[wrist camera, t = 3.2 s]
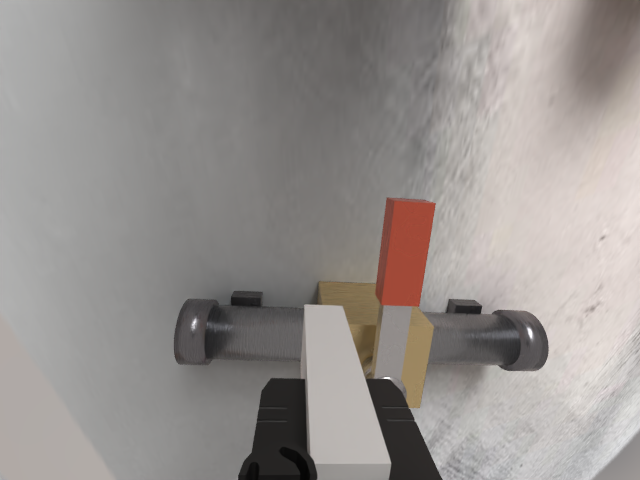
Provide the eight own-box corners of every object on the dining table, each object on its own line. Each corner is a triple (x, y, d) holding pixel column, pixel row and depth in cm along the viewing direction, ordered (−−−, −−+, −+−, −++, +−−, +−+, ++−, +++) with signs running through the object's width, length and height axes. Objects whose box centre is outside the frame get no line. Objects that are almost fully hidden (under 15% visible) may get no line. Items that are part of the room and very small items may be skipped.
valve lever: (397, 400, 25) (405, 418, 23) (358, 399, 24) (362, 417, 23) (428, 200, 21) (440, 203, 19) (382, 197, 21) (390, 200, 19)
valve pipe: (198, 276, 32) (150, 331, 22) (508, 289, 35) (596, 343, 25) (200, 343, 34) (156, 423, 24) (493, 350, 37) (570, 425, 27)
